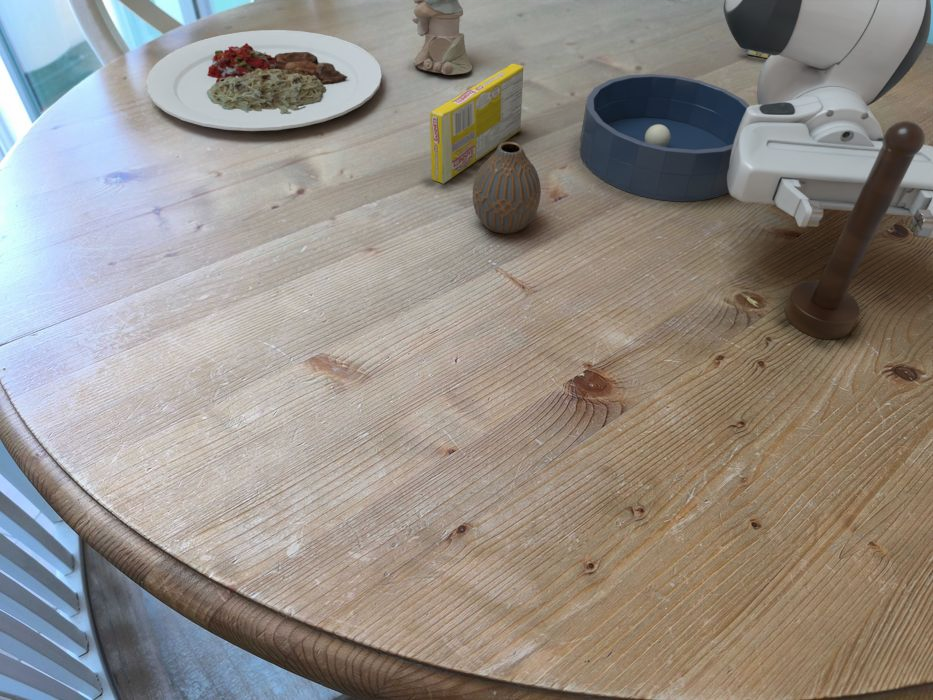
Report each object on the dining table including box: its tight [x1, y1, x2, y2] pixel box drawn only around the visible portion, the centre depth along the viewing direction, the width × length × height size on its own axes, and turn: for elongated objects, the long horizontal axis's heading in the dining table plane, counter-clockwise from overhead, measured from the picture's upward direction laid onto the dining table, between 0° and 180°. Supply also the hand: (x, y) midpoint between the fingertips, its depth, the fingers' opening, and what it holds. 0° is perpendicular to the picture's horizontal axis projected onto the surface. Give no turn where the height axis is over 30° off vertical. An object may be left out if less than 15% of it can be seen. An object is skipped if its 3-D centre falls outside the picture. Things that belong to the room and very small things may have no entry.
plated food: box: [145, 29, 383, 132], centre depth 98 cm, size 30×30×3 cm
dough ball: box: [645, 124, 670, 147], centre depth 89 cm, size 3×3×3 cm
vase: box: [472, 141, 542, 235], centre depth 76 cm, size 7×7×9 cm
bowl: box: [579, 73, 751, 202], centre depth 88 cm, size 20×20×6 cm
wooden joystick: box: [784, 120, 926, 340], centre depth 63 cm, size 6×6×19 cm
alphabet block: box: [746, 49, 770, 59], centre depth 114 cm, size 3×3×3 cm
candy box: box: [429, 62, 524, 185], centre depth 86 cm, size 16×2×8 cm, turn 145°
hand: (870, 225), depth 61 cm, fingers open, 8 cm apart
